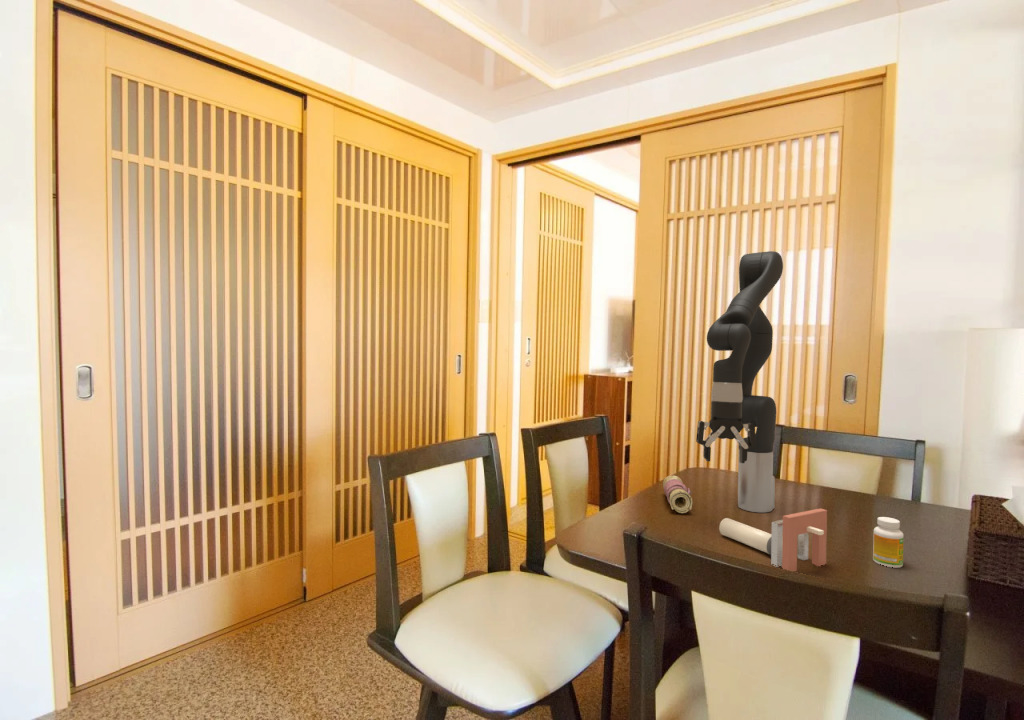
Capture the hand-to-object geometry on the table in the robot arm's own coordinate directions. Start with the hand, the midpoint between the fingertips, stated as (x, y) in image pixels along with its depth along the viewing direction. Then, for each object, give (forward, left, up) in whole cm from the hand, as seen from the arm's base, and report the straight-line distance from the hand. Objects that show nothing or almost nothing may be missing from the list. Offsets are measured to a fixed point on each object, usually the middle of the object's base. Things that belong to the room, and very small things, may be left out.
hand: (724, 461), depth 137 cm
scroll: (-3, -21, -18) cm, 28 cm away
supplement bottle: (-16, +31, -18) cm, 39 cm away
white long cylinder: (+3, +12, -18) cm, 21 cm away
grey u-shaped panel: (+3, +22, -18) cm, 28 cm away
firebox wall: (+4, +27, -18) cm, 32 cm away
